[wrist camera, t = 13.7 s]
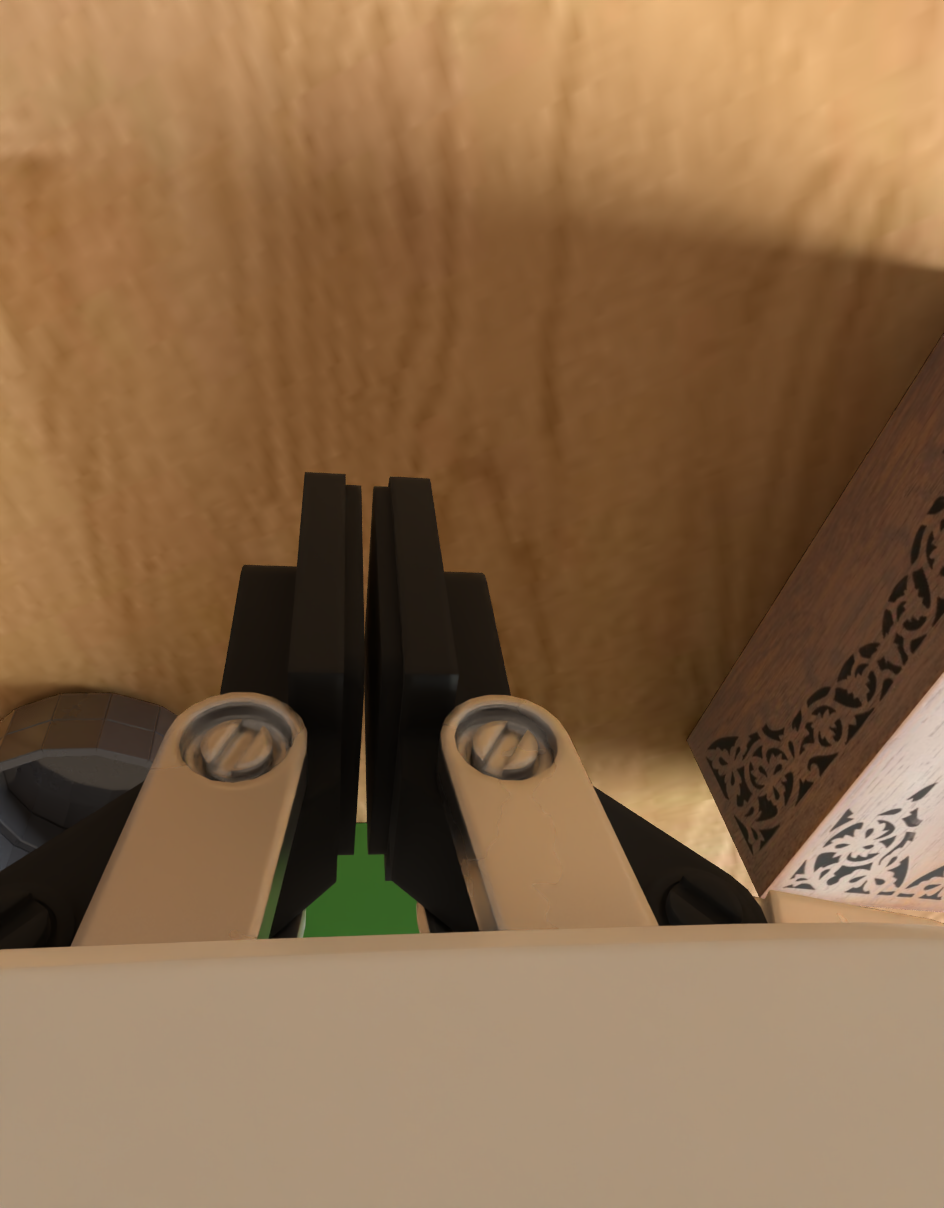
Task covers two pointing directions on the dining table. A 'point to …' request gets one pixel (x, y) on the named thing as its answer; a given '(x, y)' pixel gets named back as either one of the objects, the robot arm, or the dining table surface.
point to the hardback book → (361, 899)
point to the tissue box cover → (848, 690)
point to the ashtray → (71, 762)
